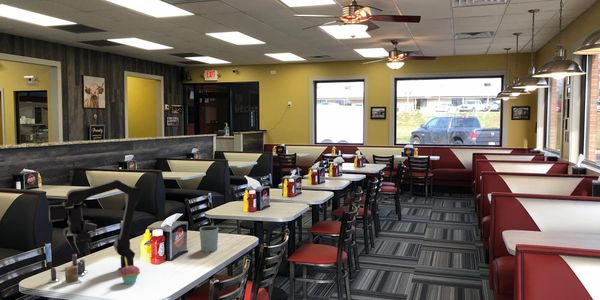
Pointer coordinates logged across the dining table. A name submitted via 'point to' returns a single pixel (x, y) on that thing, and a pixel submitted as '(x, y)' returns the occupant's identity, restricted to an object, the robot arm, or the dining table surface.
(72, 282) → the coaster
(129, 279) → the cupcake
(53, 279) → the post course
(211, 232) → the grey plant pot
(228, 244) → the dining table surface
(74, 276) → the walnut block
